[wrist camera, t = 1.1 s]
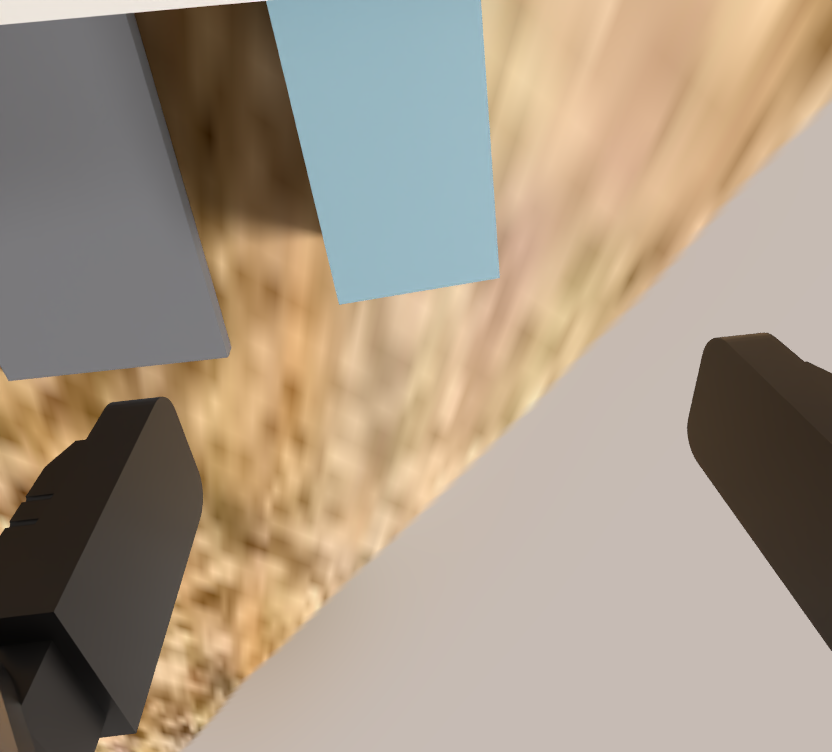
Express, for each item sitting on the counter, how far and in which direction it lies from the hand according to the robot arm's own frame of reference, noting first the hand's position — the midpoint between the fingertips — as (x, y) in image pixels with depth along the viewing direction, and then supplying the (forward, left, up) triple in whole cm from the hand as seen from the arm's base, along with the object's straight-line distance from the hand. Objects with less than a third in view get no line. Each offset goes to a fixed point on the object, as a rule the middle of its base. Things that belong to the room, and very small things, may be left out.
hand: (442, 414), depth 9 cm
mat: (-2, -12, -15) cm, 19 cm away
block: (-4, 0, -15) cm, 16 cm away
